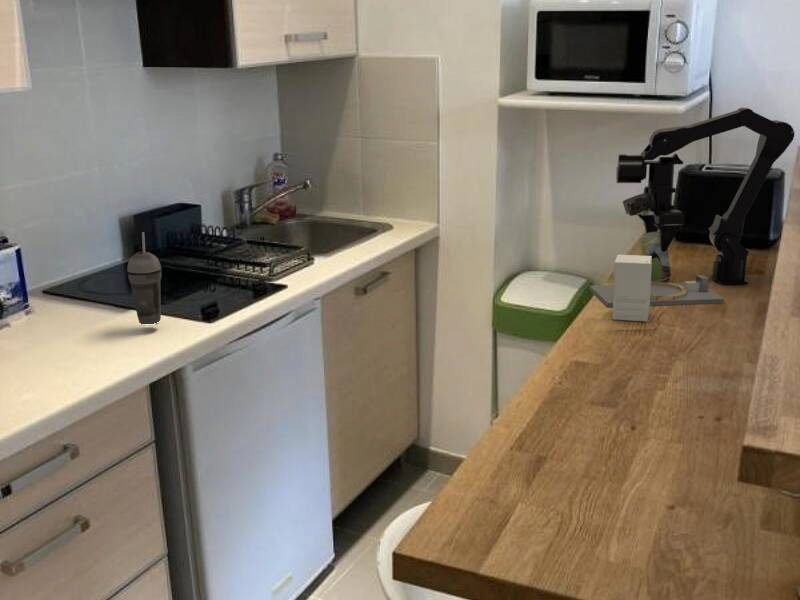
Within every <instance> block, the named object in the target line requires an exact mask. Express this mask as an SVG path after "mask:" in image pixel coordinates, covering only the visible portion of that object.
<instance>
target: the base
mask: <svg viewBox="0 0 800 600" xmlns="http://www.w3.org/2000/svg"><path fill="white" fill-rule="evenodd" d="M672 283H673V284H678V285H681V286H683V287H684V281H682V282H672ZM613 286H614V284H601V285H598V284H597V285H589V291H590V292H591V293H592V294H593V295H594V296H595V297H597V299H598V300H599V301H600V302H601V303H603V305H605V307H607V308H613ZM678 293H681V291H679V290H678V289H674V288H670V287H666V286H656V285H651V289H650V295H654V296H666V295H674V294H678ZM706 304H724V297H722V296H721V295H719V294H717V293H715V292H714V291H712V290H711V289H709V288H708V292H687V295H686V296H685V297H683V298H679V299H675V300H650V307H652V306H653V307H654V306H677V305H682V306H683V305H706Z"/></svg>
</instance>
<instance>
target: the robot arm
mask: <svg viewBox="0 0 800 600" xmlns="http://www.w3.org/2000/svg"><path fill="white" fill-rule="evenodd" d="M741 127H744V128H747V129H749V130H751V131H752V132H754V133H756V134H758V135H759V136H758V141H757V146H756V150H755V156H754V158H753V160H752V162H751V164H750V165H749V168H748V170H747V172H746V174H745V175H744V178H743V179H742V182H741V184H740V186H739V188H738V189H737V191H736V194H735V196H734V198H733V200H732V201H731V204H730V205H729V207H728V209H727V211H726V212H724V214H723V215H722V216H720V215H719V214H716V215H715V217H714V219H713V223H712V224H711V226H710V227H709V228H708V230H709V237H708V238H709V241H710V243H711V244H712V245H713V246H714V247H715V249H716V250H717V252H718V253H719V254H716V255H715V261H713V265H712V268H713V269H712V275H710V276H711V279H712V280H714V281H716V282H717V283H719V284H721V285H734V284H735V285H737V284H742V285H743V284H749V281H748V280H746V274H747V273H746V272H747V271H746V270H747V260H748V255H749V250H747V248H745V247H744V246H743V245H742V244H741V243H740V242H741V238H742V235H743V233H744V232H743V231H744V227H745V226H744V225H745V220H746V217H747V215H748V213H749V211H750V209H751V207H752V206H753V203H755V202H754V201H755V199H756V197H757V196H758V195H759V192H760V190H761V188H762V186H763V184H764V182H765V180H766V178H767V177H768V174H769V172H770V171H771V169H772V167H773V165H774V163H776V161H777V160H778V159H779V158H781V156H782V155H783V154H785V152H786V150H788V149H787V148H788V147H789V146H790V145H791V144H792V142H793V141H794V139H795V130H794V127H793V126H792V125H791V124H789V123H787V122H785V121H782V120H771V119H770V118H767V117H765V116H763V115H760V114H759V113H757V112H755V111H754V110H753V109H751V108H748V107H739V108H738V109H735V110H734V111H731V112H727V113H724V114H721V115H717V116H714V117H711V118H708V119H704V120H702V121H699V122H695V123H692V124H689V125H681V126H672V127H664V128H659V129H656V130H654V131H653V132H652V134H651V136H650V137H649V141H648V142H649V143H648V144H647V146H646V147H645V149H643V151H641V153H640V154H625V153H624V154H623V153H621V154H618V160H617V166H616V170H615V171H616V173H615V175H616V177H615V178H616V179H615V180H616V184H641V183H642V181H645V179H648V181H647V182H648V184H647V186H644V188H643V192H642V193H640V194H637V195H634V196H631V197H629V198H626V199H624V200H623V201H622V205H623V207H624V211H625V214H626V215H629V217H633V216H637V217H638V218H639V219H640V221H642V222H643V223H642V224H643V226H644V230H645V233H649V232H660V245H661V251H662V252H664V251H667V249H668V250H669V247H670V246H671V243H672V242H673V240H674V238H675V237H676V235H677V233H678V232H679V230H680V228H682V227H683V225H685V224H686V214H685V213H683V212H682V211H681V210H679V209H676V207H675V206H676V205H675V204H673V194H676V192H677V187H676V188H675V187H674V177H675V165H684V161H683V160H682V159H681V158H680V157H679V155H678V154H677V153H675V152H677V151H678V150H681V149H683V148H684V147H686V146H688V145H689V144H691V143H694V142H696V141H700V140H703V139H706V138H709V137H713V136H716V135H719V134H722V133H726V132H729V131H732V130H734V129H738V128H741ZM671 154H673V155H672V156H669V155H671ZM656 159H658V160H656ZM648 166H649V167H648ZM647 169H648V170H647ZM647 173H648V178H647Z"/></svg>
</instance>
